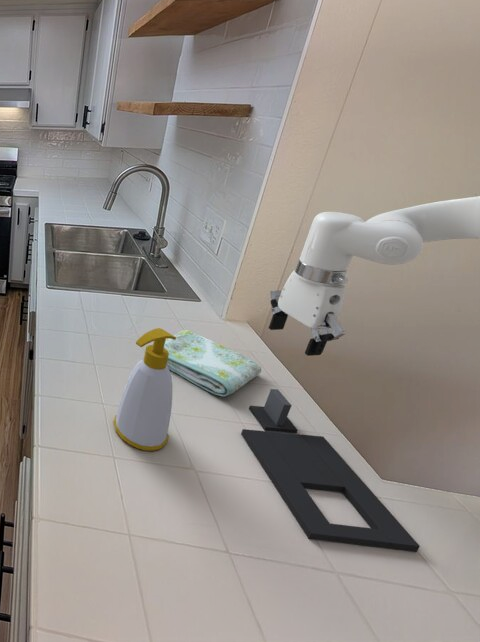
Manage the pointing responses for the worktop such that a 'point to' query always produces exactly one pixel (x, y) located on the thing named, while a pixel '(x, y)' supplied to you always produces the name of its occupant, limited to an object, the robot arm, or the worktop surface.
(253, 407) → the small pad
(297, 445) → the big pad
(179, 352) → the towel
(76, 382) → the worktop surface
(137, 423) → the soap bottle
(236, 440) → the worktop surface
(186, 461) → the worktop surface
